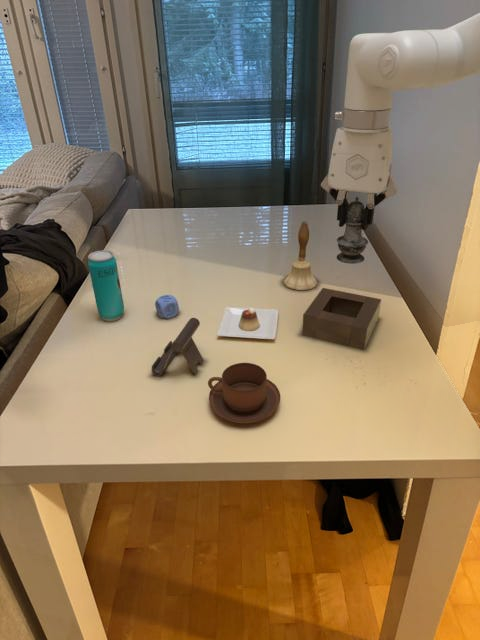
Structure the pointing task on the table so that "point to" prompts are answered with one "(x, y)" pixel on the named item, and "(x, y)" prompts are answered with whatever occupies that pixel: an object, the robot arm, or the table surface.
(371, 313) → the holder
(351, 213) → the chess piece
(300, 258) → the hand bell
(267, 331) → the dessert
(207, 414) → the table surface
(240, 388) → the cup and saucer
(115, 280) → the beverage can
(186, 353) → the tablet stand
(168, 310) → the decorative dice
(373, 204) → the robot arm
